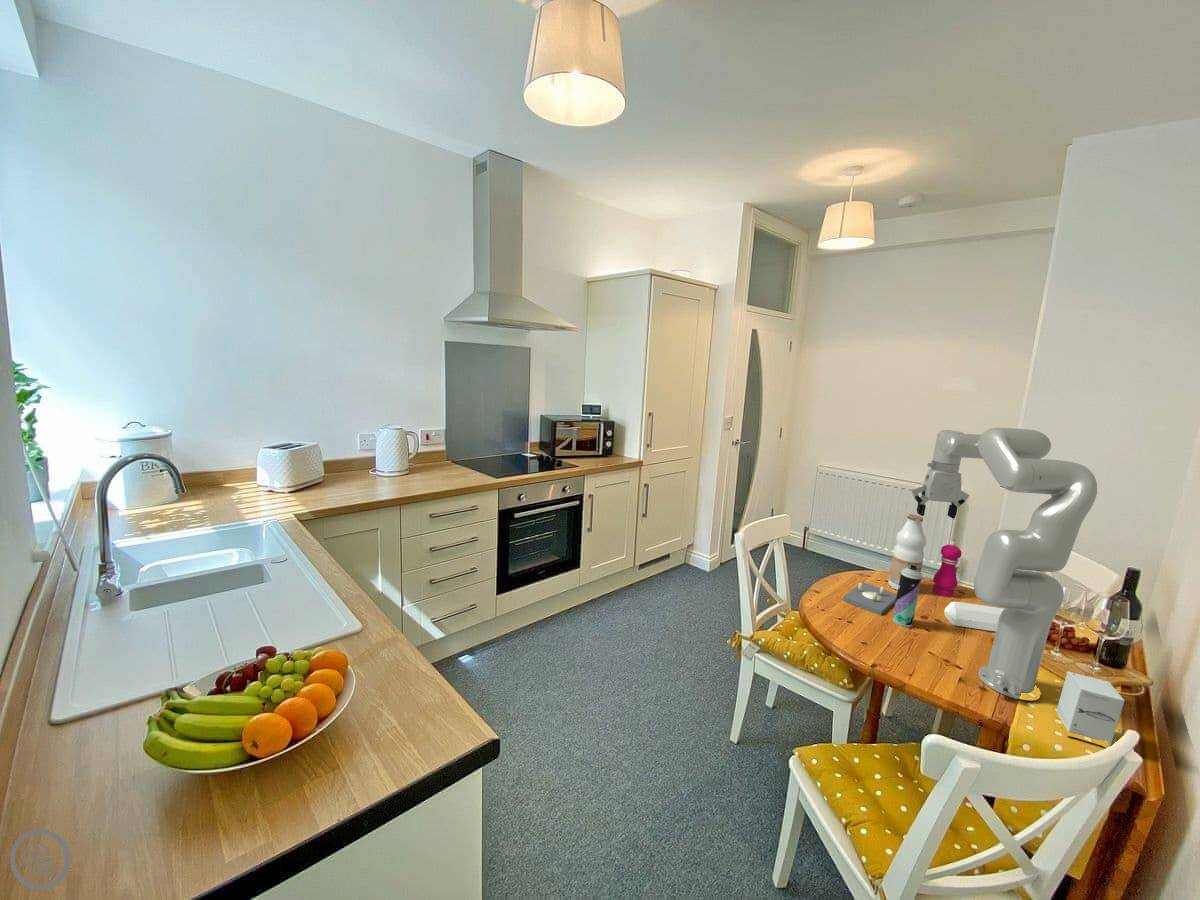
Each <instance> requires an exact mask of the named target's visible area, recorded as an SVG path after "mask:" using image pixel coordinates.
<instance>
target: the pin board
mask: <svg viewBox="0 0 1200 900" xmlns="http://www.w3.org/2000/svg"><path fill="white" fill-rule="evenodd" d="M896 597H897V593H895V592H893V591H889V590H887V589H886V588H885V586H883V585H881V586H880V587H878V586H876V585H873V584H870V583H867V582H864V581H862V582H858V585H857V586H855V587H854V588H853V589H852V590H850V591H849V592H848V593H846V594H845V595H844V596H843V598H842V601H843V602H845V603H848V604H851V605H853V606H856V607H857V608H860V609H862V610H863V609H864V610H866V611H869V612H871V613H874V614H876V615H878V614H879V616H882V615H883V614H884V613H886V611H887V610H888V609H890V608H891V606H892V605H894V604H895V603H896V602H895V601H896Z"/></svg>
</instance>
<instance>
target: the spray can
mask: <svg viewBox="0 0 1200 900" xmlns="http://www.w3.org/2000/svg"><path fill="white" fill-rule="evenodd" d="M922 575H923V574H922V571H921V572H919V571H918V569H917V568H916V565H914V564H910V566H909V567H907V568H903V569H902V571H901V576H900V581H899V586H898V590H897V593H896V594H897V597H896V602H894V610H893V615H892V622H893V623H894V624H896V625H898V626H900V627H904V628H911V627H913V623H914V620H915V619H914V618H915V613H916V609H917V603H918V597H919V592H920V588H921V582H922V578H923V577H922Z"/></svg>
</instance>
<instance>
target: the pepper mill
mask: <svg viewBox="0 0 1200 900" xmlns="http://www.w3.org/2000/svg"><path fill="white" fill-rule="evenodd" d="M940 549H941V550H940V554H941V555H942V556H941V559H940V561H941V564H940V568H939V569H938V570H937V572H935V574H934V576H933V578H932V582H933V583H934V584H933V587H932V591H933V592H934V593H935V594H936V595H939V596H943V597H946V598H949V597H953V596H954V594H955V590H954V589H956V588H957V587H958V579H957V575H956V566H957V565H958V563H959V559H960V558H961V557H962V550H961V549H960V547H958V546H957V543H956V541H953V540H952V541H950V542H949V544H944V545H943V546H942V547H941V548H940Z"/></svg>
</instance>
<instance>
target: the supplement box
mask: <svg viewBox="0 0 1200 900" xmlns="http://www.w3.org/2000/svg"><path fill="white" fill-rule="evenodd" d="M1124 704H1125V699H1124V698H1123V697H1122V695H1121V694H1120V693H1119V692H1118V690H1117V689H1116V688H1115V687H1114V686H1113V684H1111V682H1110V681H1106V680H1103V679H1099V678H1096V677H1095V678H1094V677H1093V676H1092V677H1091V676H1087V675H1083V674H1079V673H1076V672H1072V671H1068V670H1067V672H1066V676H1065V679H1064V682H1063V687H1062V689H1061V693H1060V697H1059V702H1058V704H1057V706H1056V707H1057V708H1056V711H1055V713H1056V712H1057V714H1058V716H1059V718H1060V719H1061V721H1062V723H1063V724H1064V726H1065V727H1066V729H1067V731H1068V732H1070V733H1073V734H1078V735H1082V736H1086V737H1089V738H1092V739H1096V740H1103V741H1105V740H1106V741H1109V742H1108V744H1109V745H1108V746H1110V747H1111V745H1112V742H1113V739H1114V736H1115V732H1116V729H1117V726H1118V722H1119V719H1120V717H1121V712H1122V710H1123V707H1124ZM1108 746H1106V747H1108ZM1106 747H1105V748H1104V749H1106Z"/></svg>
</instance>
